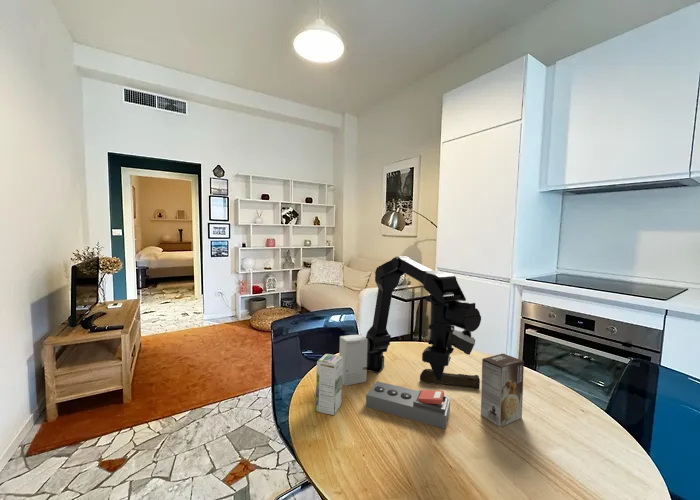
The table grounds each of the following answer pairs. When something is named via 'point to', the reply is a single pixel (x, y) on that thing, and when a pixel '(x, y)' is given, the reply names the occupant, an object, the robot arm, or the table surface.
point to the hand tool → (450, 379)
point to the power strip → (407, 404)
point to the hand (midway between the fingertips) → (439, 377)
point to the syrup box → (329, 384)
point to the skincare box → (353, 358)
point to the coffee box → (502, 389)
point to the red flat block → (431, 396)
